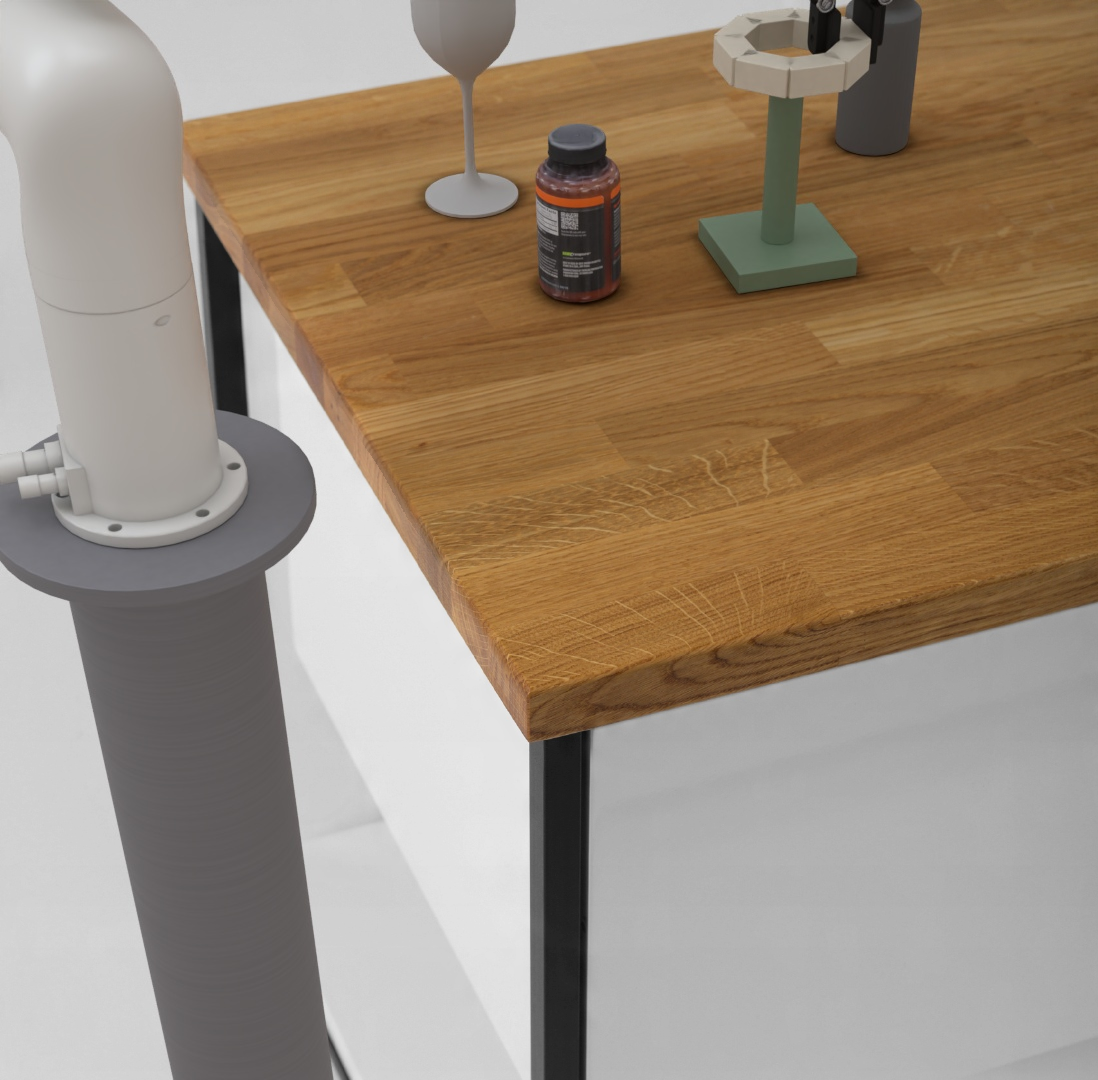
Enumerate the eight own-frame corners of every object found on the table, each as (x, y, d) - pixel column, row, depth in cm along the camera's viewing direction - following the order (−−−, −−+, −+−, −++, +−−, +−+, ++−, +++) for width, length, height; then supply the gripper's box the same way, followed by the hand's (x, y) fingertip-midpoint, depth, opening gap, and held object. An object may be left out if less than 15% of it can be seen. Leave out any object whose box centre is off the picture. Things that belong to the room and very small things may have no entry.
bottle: (910, 127, 165) (931, -64, 155) (904, 159, 161) (926, -35, 151) (838, 121, 166) (854, -68, 156) (830, 153, 162) (846, -40, 152)
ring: (746, 105, 136) (747, 75, 134) (698, 47, 143) (699, 18, 142) (886, 86, 138) (889, 56, 136) (832, 30, 145) (834, 1, 143)
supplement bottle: (605, 260, 150) (605, 110, 142) (632, 298, 146) (634, 146, 138) (527, 273, 149) (523, 123, 141) (552, 312, 144) (550, 159, 137)
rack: (738, 293, 146) (748, 110, 137) (697, 237, 152) (704, 58, 143) (856, 275, 148) (873, 93, 138) (811, 220, 154) (825, 42, 145)
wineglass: (536, 184, 159) (530, -97, 145) (494, 226, 154) (484, -60, 140) (449, 167, 161) (435, -110, 147) (405, 208, 156) (386, -75, 142)
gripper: (767, -199, 124) (752, 96, 137) (1009, -225, 127) (973, 66, 140) (726, -234, 130) (715, 53, 142) (960, -259, 133) (929, 24, 145)
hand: (843, 57), depth 141 cm, fingers closed on ring, 2 cm apart
